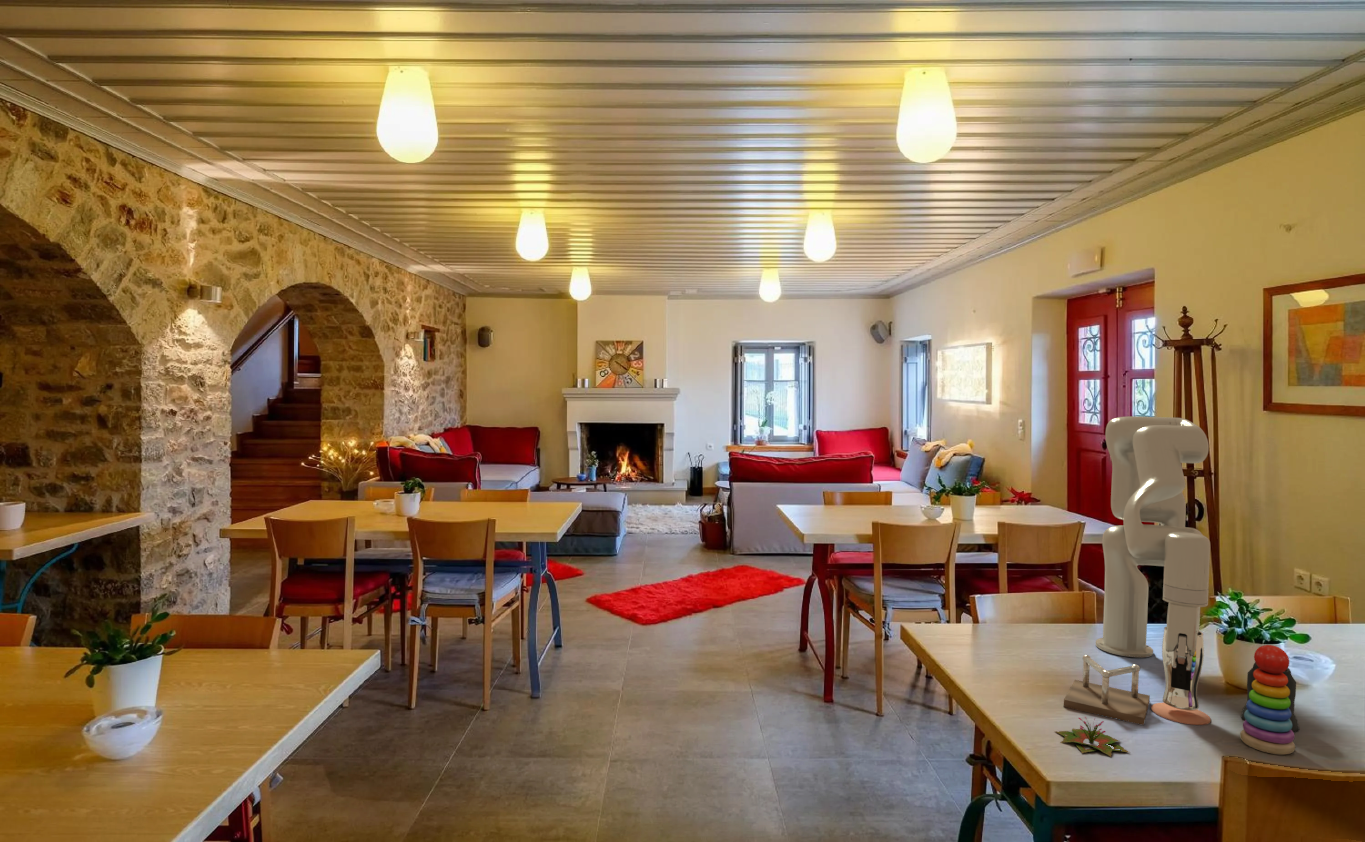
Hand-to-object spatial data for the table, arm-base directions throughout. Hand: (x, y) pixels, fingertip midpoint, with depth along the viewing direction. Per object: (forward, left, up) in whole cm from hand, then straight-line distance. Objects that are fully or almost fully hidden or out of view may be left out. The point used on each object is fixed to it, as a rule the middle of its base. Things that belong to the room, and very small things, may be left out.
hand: (1181, 682), depth 151 cm
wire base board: (+3, -12, -6) cm, 14 cm away
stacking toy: (+7, +14, -7) cm, 17 cm away
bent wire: (+4, -12, -5) cm, 14 cm away
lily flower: (+26, -13, -7) cm, 30 cm away
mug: (-8, +15, -7) cm, 18 cm away
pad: (0, 0, -6) cm, 6 cm away
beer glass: (0, 0, -5) cm, 5 cm away
